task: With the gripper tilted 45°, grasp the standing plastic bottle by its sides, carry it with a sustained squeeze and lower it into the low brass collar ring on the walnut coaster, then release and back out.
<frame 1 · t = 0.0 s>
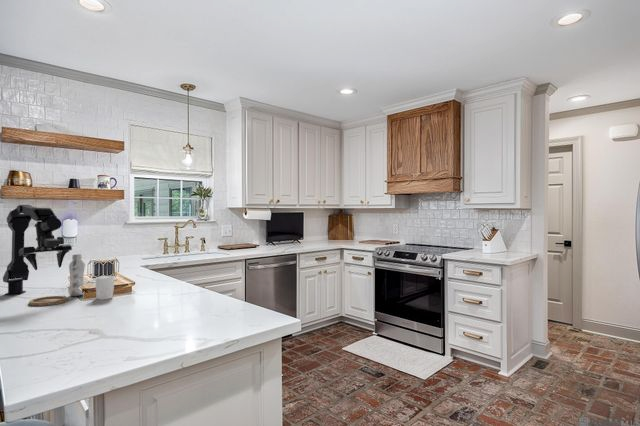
hand: (48, 268, 165), 15 cm above the worktop, tool pointing down, fingers open, 9 cm apart
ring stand: (48, 302, 166), on the worktop
white cup: (104, 298, 175), on the worktop
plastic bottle: (76, 296, 179), on the worktop
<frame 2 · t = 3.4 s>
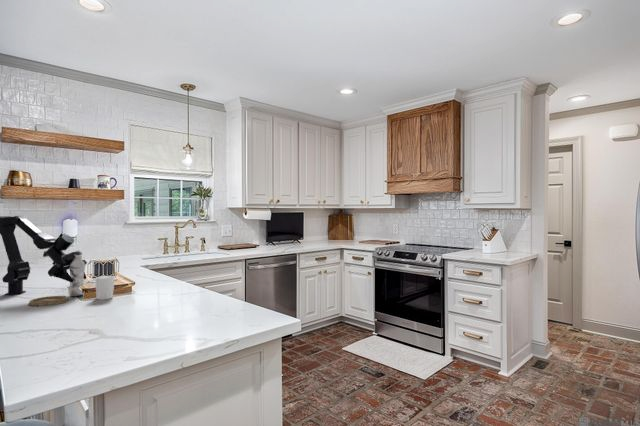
hand: (79, 280, 179), 8 cm above the worktop, tool tilted 45°, fingers open, 8 cm apart
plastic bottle: (76, 296, 179), on the worktop, touching gripper
everything else where it was.
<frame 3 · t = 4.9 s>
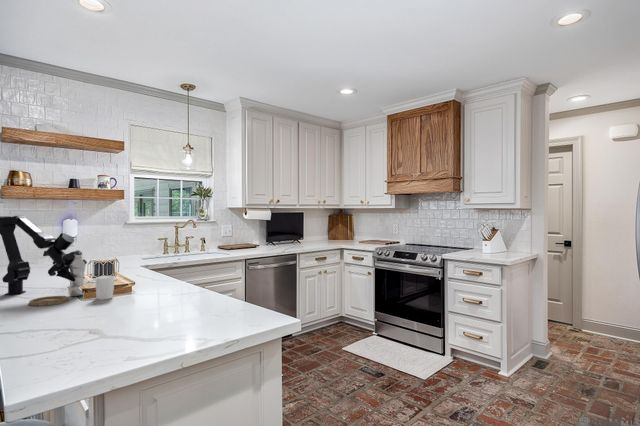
hand: (79, 279, 179), 8 cm above the worktop, tool tilted 45°, fingers closed on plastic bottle, 5 cm apart
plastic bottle: (76, 296, 179), on the worktop, touching gripper
everything else where it was.
when the fingers open (10 cm above the worktop, at t = 10.1 s): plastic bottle stays where it is, resting on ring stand.
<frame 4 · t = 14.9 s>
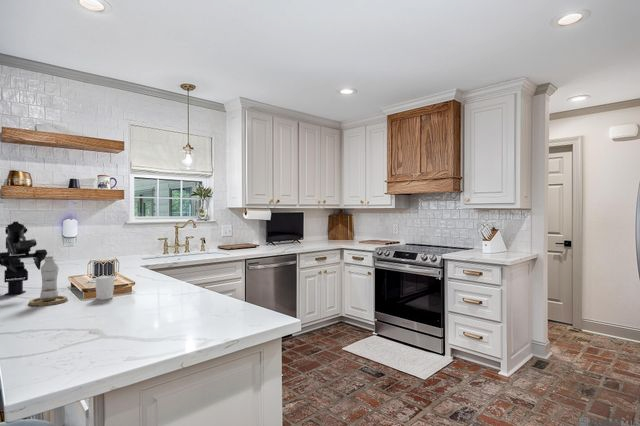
hand: (27, 270, 171), 14 cm above the worktop, tool tilted 45°, fingers open, 9 cm apart
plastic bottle: (49, 301, 166), resting on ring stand
everything else where it was.
at the end: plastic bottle 0.2 cm off-centre on the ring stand, point 0.3 cm above the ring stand's base; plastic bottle tilted 0°; the gripper is holding nothing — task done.
